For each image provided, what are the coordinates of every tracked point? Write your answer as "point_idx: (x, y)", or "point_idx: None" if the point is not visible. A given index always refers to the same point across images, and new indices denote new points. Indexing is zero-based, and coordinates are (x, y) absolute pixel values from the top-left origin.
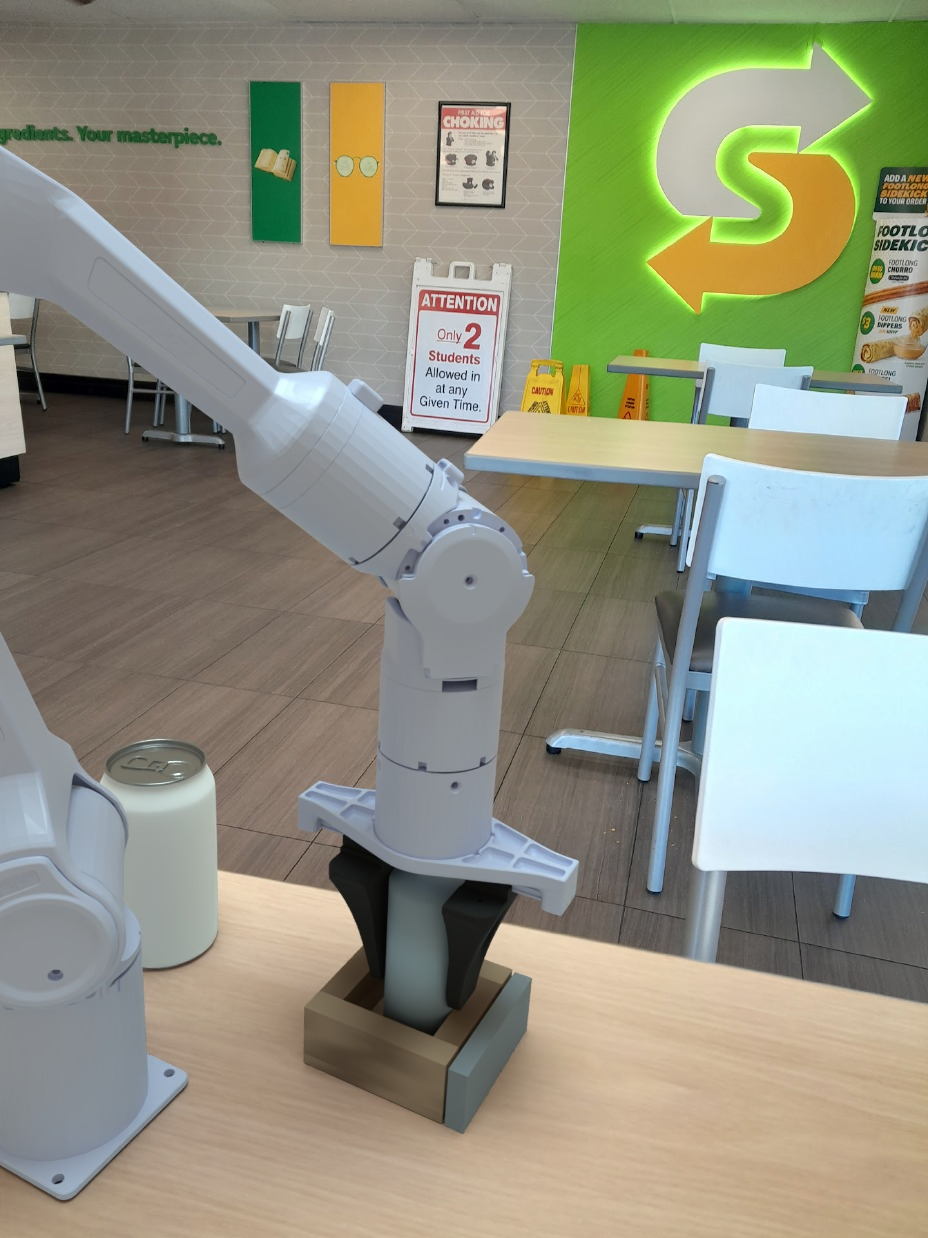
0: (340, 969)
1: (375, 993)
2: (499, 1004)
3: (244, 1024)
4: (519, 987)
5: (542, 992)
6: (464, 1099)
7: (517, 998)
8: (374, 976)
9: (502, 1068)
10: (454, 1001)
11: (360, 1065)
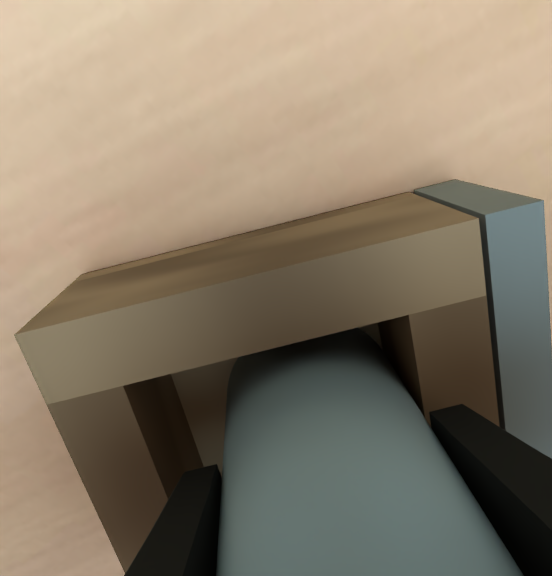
0: (112, 544)
1: (170, 408)
2: (515, 354)
3: (27, 538)
4: (531, 263)
5: (417, 26)
6: None
7: (546, 303)
8: None
9: None
10: None
11: None
